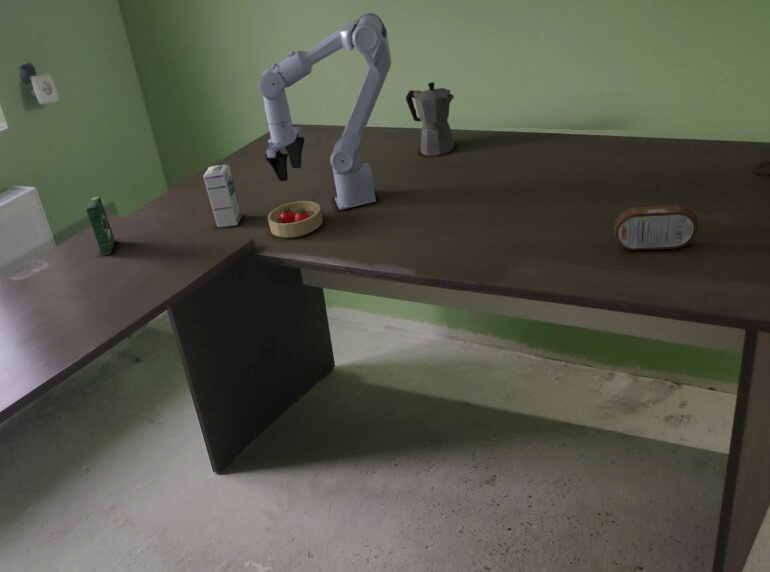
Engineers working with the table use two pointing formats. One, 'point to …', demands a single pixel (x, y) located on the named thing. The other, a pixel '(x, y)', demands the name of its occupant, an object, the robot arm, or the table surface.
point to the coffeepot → (433, 119)
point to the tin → (656, 227)
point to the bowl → (296, 227)
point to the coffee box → (100, 225)
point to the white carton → (222, 195)
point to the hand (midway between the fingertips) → (290, 174)
